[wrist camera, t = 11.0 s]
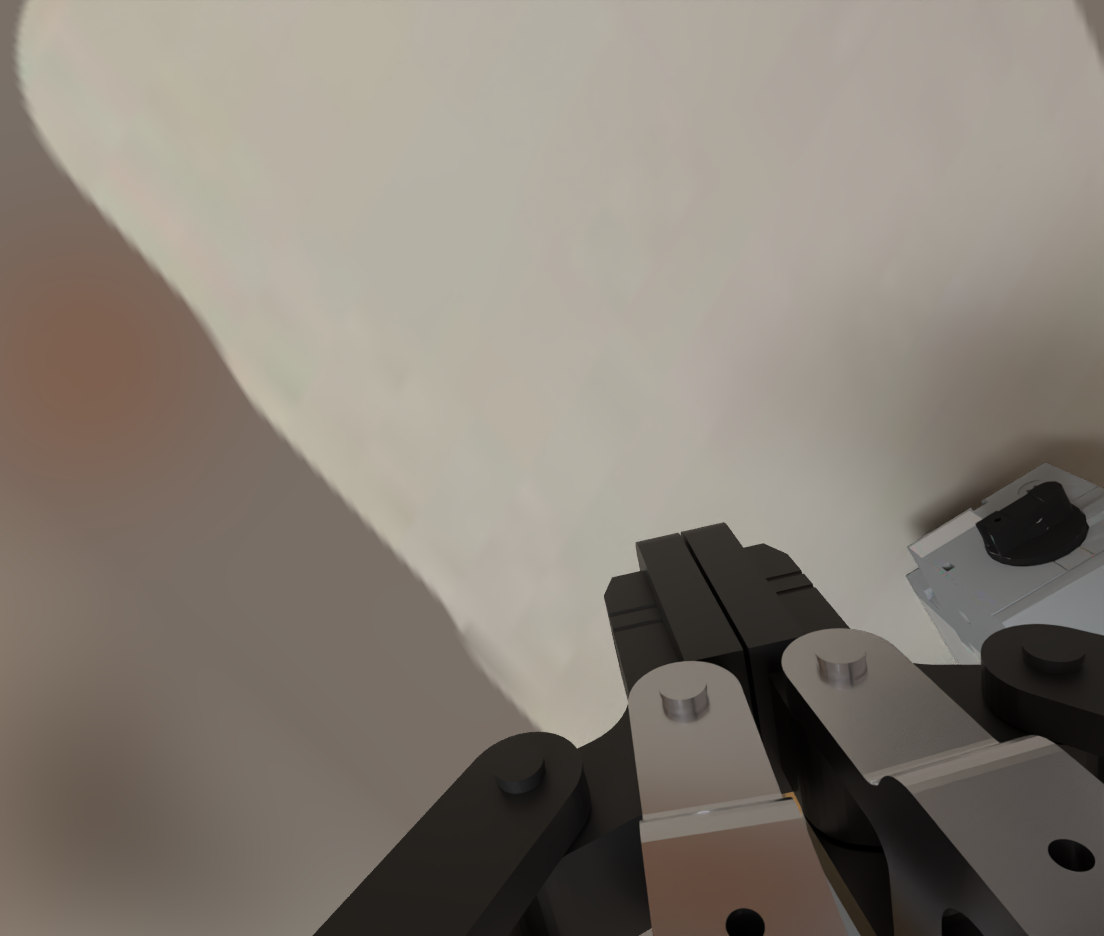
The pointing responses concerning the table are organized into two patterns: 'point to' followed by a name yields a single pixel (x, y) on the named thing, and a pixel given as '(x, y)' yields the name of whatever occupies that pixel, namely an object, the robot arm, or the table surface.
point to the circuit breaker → (1015, 562)
